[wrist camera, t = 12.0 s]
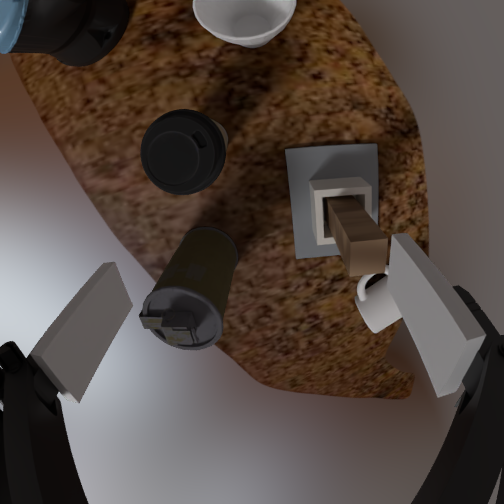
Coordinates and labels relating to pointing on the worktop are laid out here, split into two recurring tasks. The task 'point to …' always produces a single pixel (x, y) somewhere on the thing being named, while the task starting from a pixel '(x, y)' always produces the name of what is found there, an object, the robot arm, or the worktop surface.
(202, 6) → the cup
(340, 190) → the white square holder
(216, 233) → the canister
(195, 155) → the coffee cup
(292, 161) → the mat
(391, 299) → the mug
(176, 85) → the worktop surface
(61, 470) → the robot arm
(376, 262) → the brown wooden block
